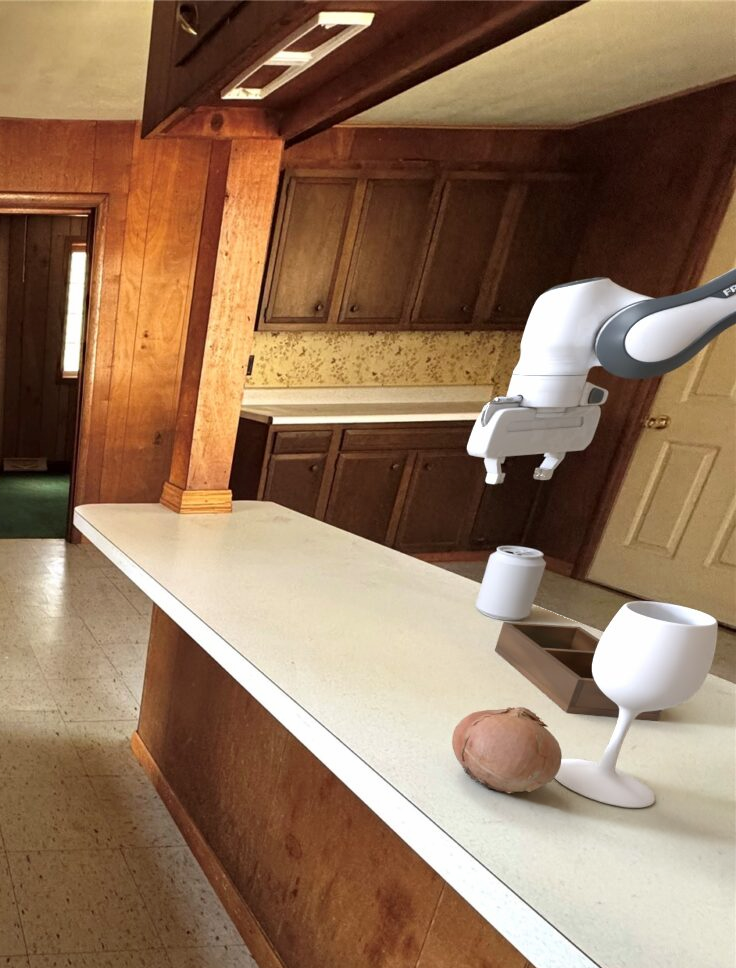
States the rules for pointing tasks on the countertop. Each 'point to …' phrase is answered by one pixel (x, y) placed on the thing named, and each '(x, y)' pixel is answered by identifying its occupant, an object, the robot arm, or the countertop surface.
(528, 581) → the can
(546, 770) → the onion
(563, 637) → the wooden compartment tray
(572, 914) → the countertop surface
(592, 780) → the wineglass
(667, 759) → the countertop surface
